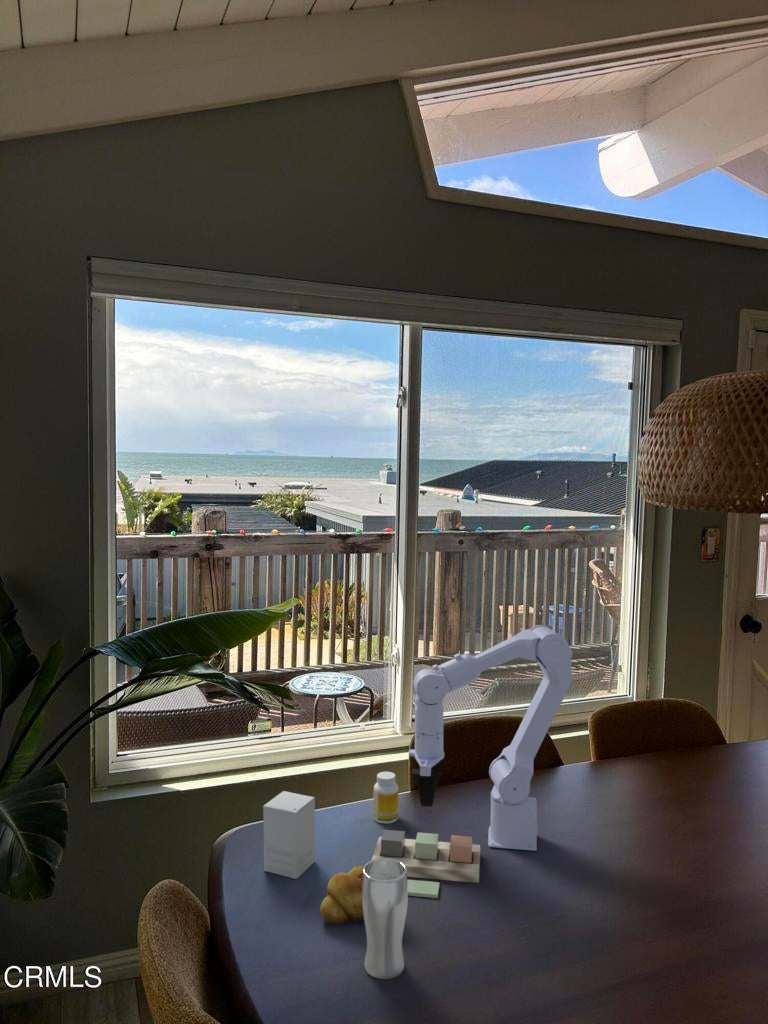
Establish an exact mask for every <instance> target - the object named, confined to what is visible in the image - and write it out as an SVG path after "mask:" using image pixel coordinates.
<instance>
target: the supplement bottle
mask: <svg viewBox="0 0 768 1024" xmlns="http://www.w3.org/2000/svg"><path fill="white" fill-rule="evenodd" d="M396 780H397V779H396V774H395V772H391V771H381V772H378V773H377V774H376V783H375V784H374V786H373V796H372V797H373V802H372V803H373V805H372V808H373V809H372V811H373V812H372V813H373V820H374V821H375V822H377V823H379V824H386V825H388V824H393V823H395V822H396V821H397V820H398V819H399V785H398V784H397V783H396Z"/></svg>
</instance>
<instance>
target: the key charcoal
mask: <svg viewBox="0 0 768 1024" xmlns="http://www.w3.org/2000/svg"><path fill="white" fill-rule="evenodd" d="M405 832H406V831H405V830H394V829H393V830H392V829H390V830H389V829H383V833H382V835H381V837H382V839H381V855H382V856H386V857H397V858H403V856H402V855H403V851H404V847H405V839H406V838H405V837H406V835H405V834H406V833H405Z"/></svg>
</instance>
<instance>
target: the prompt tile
mask: <svg viewBox="0 0 768 1024" xmlns="http://www.w3.org/2000/svg"><path fill="white" fill-rule="evenodd" d="M407 885H408V897H409V896H411V897H418V898H419V897H421V898H431V899H439V892H440V891H439V890H440V882H437V881H430V880H416V879H408V878H407Z"/></svg>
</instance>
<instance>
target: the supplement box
mask: <svg viewBox="0 0 768 1024" xmlns="http://www.w3.org/2000/svg"><path fill="white" fill-rule="evenodd" d="M315 801H316V798H315V797H314V796H311V795H304V794H300V793H294V792H290V791H286V790H283V791H281V792H280V793H279V794H277V795H276V796H274V797H273V798H272V799H270V801H268V802H266V803H265V804H264V805H262V811H263V812H262V814H263V818H262V819H263V864H264V865H263V871H264V872H267V873H271V874H275V875H279V876H282V877H286V878H287V877H288V878H290V879H295V880H297V879H298V878H300V877H301V876H302V875H303V873H305V871H307V870H308V869H309V868H310V867H312V865H313V864H314V863H315V862H316V804H315V803H316V802H315Z"/></svg>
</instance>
